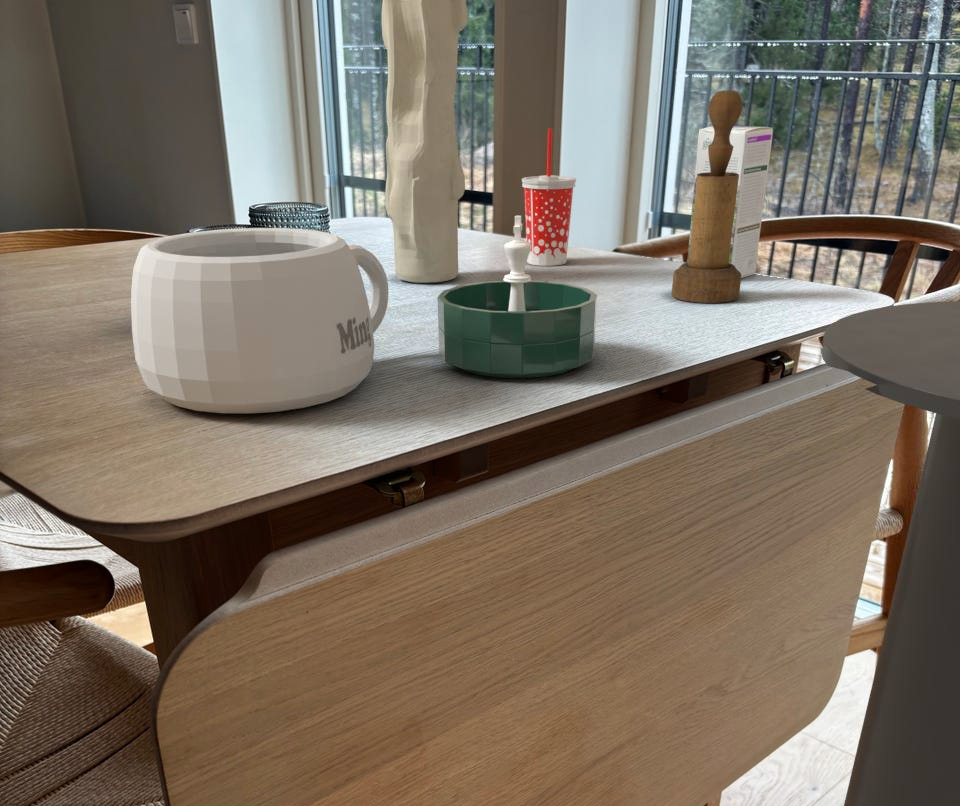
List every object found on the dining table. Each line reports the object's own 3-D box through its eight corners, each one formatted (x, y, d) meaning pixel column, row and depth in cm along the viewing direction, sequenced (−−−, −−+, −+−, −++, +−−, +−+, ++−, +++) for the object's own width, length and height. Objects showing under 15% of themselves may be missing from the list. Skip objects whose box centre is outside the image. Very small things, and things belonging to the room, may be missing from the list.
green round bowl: (625, 364, 76) (629, 298, 73) (501, 392, 70) (502, 320, 67) (529, 335, 84) (530, 274, 82) (411, 357, 78) (409, 292, 76)
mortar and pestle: (683, 304, 94) (704, 91, 85) (662, 291, 100) (679, 89, 91) (749, 301, 95) (776, 90, 86) (724, 288, 101) (747, 89, 92)
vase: (481, 278, 107) (479, -57, 92) (428, 290, 101) (417, -64, 86) (423, 269, 112) (413, -51, 97) (370, 280, 106) (350, -57, 91)
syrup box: (757, 274, 108) (776, 125, 100) (728, 282, 104) (746, 128, 97) (712, 268, 111) (727, 124, 104) (683, 275, 107) (697, 126, 100)
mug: (240, 441, 61) (217, 273, 56) (96, 392, 70) (65, 244, 65) (466, 369, 75) (464, 230, 70) (321, 337, 84) (309, 211, 79)
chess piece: (551, 347, 78) (555, 212, 73) (543, 363, 74) (547, 221, 69) (490, 344, 79) (490, 211, 74) (480, 360, 75) (479, 220, 70)
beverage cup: (583, 262, 115) (589, 128, 108) (545, 268, 111) (549, 130, 104) (547, 256, 119) (551, 126, 112) (510, 261, 116) (511, 128, 108)
